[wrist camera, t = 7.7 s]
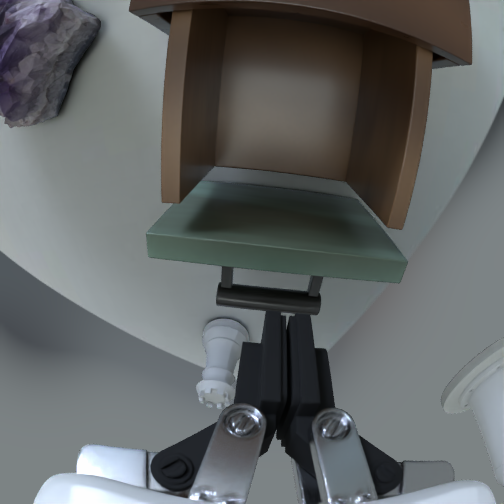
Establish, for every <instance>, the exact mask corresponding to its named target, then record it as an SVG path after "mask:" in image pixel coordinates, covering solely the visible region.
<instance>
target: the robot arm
mask: <svg viewBox="0 0 504 504" xmlns="http://www.w3.org/2000/svg"><path fill="white" fill-rule="evenodd" d="M459 403H460V406H461V407H462V408H471V409H472V411H473V414H474V416H475V418H476V421H477V424H478V427H479V429H480V432H481V434H482V438H483V440H484V443H485V446H486V449H487V452H488V455H489V458H490V462H491V465H492V469H493V472H494V476H495V479H496V481H497V482H498V483H499V484H500V485H501V486H503V487H504V357H502V358H500V359H499V360H497V361H495V362H494V363H492V364H491V365H490V366H488V367H487V368H486V369H484V370H483V371H482V372H481V373H480V374H479V375H477V376H476V377H475V378H474V379H473V380H472V381H471V382H470V383H469V384H468V386H467V387H466V388H465V389H464V391H463V392H462V394H461V395H460V398H459ZM276 429H277V433H276V438H277V440H281V446H282V447H285V452H286V453H287V454H288V455H289V456H290V457H291V463H292V469H293V474H294V480H295V486H296V492H297V498H298V504H496V501H495V498H494V495H493V493H492V491H491V489H490V488H489V487H488V486H487V485H486V484H484V483H482V482H479V481H474V480H458V481H454V469H453V467H452V465H451V464H450V463H448V462H446V461H403V462H396V461H395V460H394V459H393V458H391V457H390V456H388V455H387V454H385V453H384V452H382V451H381V450H379V449H378V448H376V447H375V446H374V445H372V444H371V443H369V442H368V441H367V440H365V439H364V438H362V437H361V436H360V435H358V431H357V428H356V425H355V422H354V420H353V418H352V417H351V416H350V415H349V414H348V413H347V412H345V411H344V410H342V409H338V408H335V403H334V396H333V389H332V381H331V374H330V368H329V361H328V355H327V350H326V349H323V348H315V347H314V339H313V331H312V323H311V316H310V314H302V313H295V316H290V317H289V321H288V325H287V329H286V316H283V315H281V312H280V311H272V310H266V314H265V321H264V327H263V333H262V339H261V343H252V342H243V343H242V349H241V357H240V364H239V371H238V378H237V385H236V392H235V399H234V404H232V405H230V406H228V407H226V408H225V409H224V410H223V411H222V413H221V414H220V416H219V419H218V421H217V422H216V423H214V424H212V425H211V426H209V427H207V428H205V429H203V430H201V431H200V432H198V433H196V434H194V435H192V436H190V437H188V438H186V439H185V440H183V441H181V442H179V443H177V444H175V445H173V446H171V447H168V448H166V449H165V450H162V451H161V452H147V450H139V449H129V448H120V447H112V446H105V445H98V444H89V445H86V446H84V447H83V448H82V449H81V450H80V452H79V454H78V459H77V469H76V473H63V474H57V475H54V476H52V477H51V478H49V479H48V480H47V481H46V482H45V483H44V484H43V486H42V487H41V489H40V491H39V492H38V494H37V496H36V498H35V500H34V503H33V504H245V503H246V500H247V497H248V494H249V490H250V487H251V483H252V479H253V476H254V472H255V469H256V465H257V461H258V458H259V457H260V456H261V455H263V454H264V453H266V452H267V451H268V448H269V446H270V444H271V441H272V439H273V437H274V434H275V431H276ZM501 504H504V502H502V503H501Z"/></svg>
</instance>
